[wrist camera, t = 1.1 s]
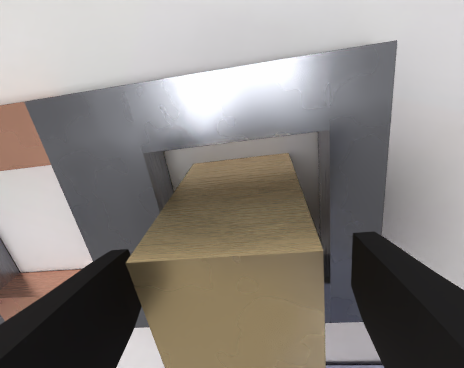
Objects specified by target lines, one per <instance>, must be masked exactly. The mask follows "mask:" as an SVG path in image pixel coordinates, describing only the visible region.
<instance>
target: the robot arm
mask: <svg viewBox="0 0 464 368" xmlns="http://www.w3.org/2000/svg"><path fill="white" fill-rule="evenodd" d="M130 256H131V255H130V252H129V250H128V249H121V250H111V251H109V252H108V253H106V254H104V255H103V256H101V257H99V258H98V259H96V260H95V261H93V262H92V263H90V264H89V265H87V266H86V267H85V268H83V269H82V270H80V271H79V272H77V273H76V274H74V275H73V276H72V277H70V278H69V279H67V280H66V281H64V282H63V283H62V284H60V285H59V286H57V287H56V288H54V289H53V290H51V291H50V292H49V293H47V294H46V295H44V296H43V297H41V298H40V299H38V300H37V301H35V302H34V303H32V304H31V305H29V306H28V307H26V308H25V309H23V310H22V311H20V312H19V313H17V314H15V315H14V316H12V317H11V318H9V319H8V320H6V321H5V322H3V323H2V324H0V368H116V367H117V365H118V362H119V360H120V358H121V356H122V354H123V352H124V350H125V347H126V345H127V343H128V341H129V339H130V336H131V334H132V332H133V330H134V327H135V325H136V322H137V319H138V316H139V313H140V310H141V307H142V306H141V303H140V300H139V298H138V295H137V292H136V290H135V287H134V284H133V282H132V279H131V276H130V274H129V271H128V268H127V266H126V262H127V260H128V259H129V257H130ZM351 287H352V290H353V293H354V297H355V300H356V303H357V306H358V309H359V312H360V315H361V318H362V320H363V322H364V325H365V327H366V329H367V331H368V333H369V336H370V338H371V340H372V342H373V344H374V346H375V349H376V351H377V353H378V355H379V357H380V359H381V362H382V364H383V365H327V366H326V368H464V290H462V289H461V288H459V287H458V286H456V285H455V284H453V283H451V282H450V281H448V280H447V279H445V278H443V277H442V276H440V275H439V274H437V273H436V272H434V271H433V270H431V269H430V268H428V267H427V266H425V265H424V264H422V263H421V262H419V261H418V260H416V259H415V258H413V257H412V256H410V255H409V254H407V253H406V252H404V251H403V250H402V249H400V248H399V247H397V246H396V245H394V244H393V243H391V242H390V241H388V240H387V239H385V238H384V237H382V236H381V235H379V234H378V233H376V232H375V231H373V232H359V233H353V240H352V269H351Z"/></svg>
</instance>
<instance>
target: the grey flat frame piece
mask: <svg viewBox="0 0 464 368" xmlns="http://www.w3.org/2000/svg"><path fill="white" fill-rule="evenodd" d="M396 49H397V40H396V41H390V42H384V43H378V44H372V45H366V46H360V47H353V48H347V49H341V50H335V51H329V52H323V53H317V54H311V55H305V56H299V57H293V58H287V59H281V60H275V61H268V62H262V63H256V64H250V65H244V66H238V67H232V68H226V69H220V70H214V71H208V72H202V73H196V74H190V75H183V76H177V77H171V78H165V79H159V80H153V81H147V82H141V83H135V84H129V85H123V86H117V87H111V88H105V89H98V90H92V91H86V92H80V93H74V94H68V95H62V96H56V97H50V98H44V99H38V100H32V101H26V102H20V103H13V104H7V105H1V106H0V171H4V170H12V169H20V168H29V167H37V166H45V165H52V168H53V170H54V172H55V174H56V177H57V179H58V181H59V184H60V186H61V188H62V191H63V193H64V195H65V197H66V200H67V202H68V204H69V207H70V209H71V211H72V214H73V216H74V218H75V220H76V223H77V225H78V227H79V230H80V232H81V234H82V237H83V239H84V241H85V243H86V246H87V248H88V250H89V253H90V255H91V257H92V260H93V261H95V260H96V259H98V258H99V257H101V256H103V255H104V254H106V253H108V252H109V251H111V250H121V249H128V250H129V252H130V255H131V254H132V253H133V251H134V250H135V248H136V247H137V246H138V244H139V243H140V241H141V240H142V238H143V237H144V235H145V234H146V232H147V231H148V230H149V228H150V227H151V225H152V224H153V222H154V221H155V219H156V218H157V216H158V215H159V214H160V212H161V211H162V209H163V208H164V206H165V205H166V203H167V202H168V200H169V199H170V197H171V196H172V195H173V193H174V192H173V188H172V185H171V181H170V177H169V173H168V169H167V165H166V161H165V157H164V153H163V151H165V150H173V149H181V148H190V147H198V146H206V145H214V144H222V143H230V142H238V141H246V140H254V139H262V138H270V137H278V136H286V135H294V134H302V133H310V132H318V148H319V191H320V234H321V246H322V248H323V256H324V308H325V323H339V322H363V320H362V318H361V315H360V312H359V309H358V306H357V303H356V300H355V297H354V293H353V290H352V287H351V269H352V240H353V233H359V232H373V231H375V232H376V233H378V234H379V235H381V233H382V221H383V209H384V196H385V184H386V172H387V160H388V147H389V135H390V123H391V110H392V98H393V86H394V74H395V61H396ZM80 270H82V269H80ZM80 270H63V271H47V272H30V273H20V272H19V271H18V269H17V267H16V265H15V264H14V262H13V260H12V258H11V257H10V255H9V253H8V252H7V250H6V248H5V246H4V245H3V243H2V241H1V239H0V324H2V323H3V322H5V321H6V320H8V319H9V318H11V317H12V316H14V315H15V314H17V313H19V312H20V311H22V310H23V309H25V308H26V307H28V306H29V305H31V304H32V303H34V302H35V301H37V300H38V299H40V298H41V297H43V296H44V295H46V294H47V293H49V292H50V291H51V290H53V289H54V288H56V287H57V286H59V285H60V284H62V283H63V282H64V281H66V280H67V279H69V278H70V277H72V276H73V275H74V274H76V273H77V272H79V271H80ZM140 327H149V324H148V322H147V319H146V316H145V314H144V311H143V308H142V307H141V310H140V313H139V316H138V319H137V322H136V325H135V327H134V328H140Z"/></svg>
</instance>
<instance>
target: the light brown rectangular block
mask: <svg viewBox="0 0 464 368" xmlns="http://www.w3.org/2000/svg"><path fill="white" fill-rule="evenodd" d="M126 266H127V268H128V271H129V274H130V276H131V279H132V282H133V284H134V287H135V290H136V292H137V295H138V298H139V300H140V303H141V306H142V308H143V311H144V314H145V316H146V319H147V322H148V324H149V327H150V329H151V332H152V335H153V337H154V340H155V343H156V345H157V348H158V351H159V353H160V356H161V359H162V361H163V364H164V367H165V368H326V361H325V308H324V256H323V248H322V246H321V243H320V240H319V237H318V234H317V232H316V229H315V226H314V223H313V220H312V218H311V215H310V212H309V209H308V206H307V204H306V201H305V198H304V195H303V192H302V190H301V187H300V184H299V181H298V178H297V176H296V173H295V170H294V167H293V164H292V162H291V159H290V156H289V153H284V154H275V155H266V156H257V157H249V158H240V159H231V160H223V161H214V162H205V163H196V164H193V165H192V167H191V168H190V170H189V171H188V173H187V174H186V176H185V177H184V179H183V180H182V181H181V183H180V184H179V186H178V187H177V189H176V190H175V192H174V193H173V195H172V196H171V197H170V199H169V200H168V202H167V203H166V205H165V206H164V208H163V209H162V211H161V212H160V214H159V215H158V216H157V218H156V219H155V221H154V222H153V224H152V225H151V227H150V228H149V230H148V231H147V232H146V234H145V235H144V237H143V238H142V240H141V241H140V243H139V244H138V246H137V247H136V248H135V250H134V251H133V253H132V254H131V256H130V257H129V259H128V260H127V262H126Z"/></svg>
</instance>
